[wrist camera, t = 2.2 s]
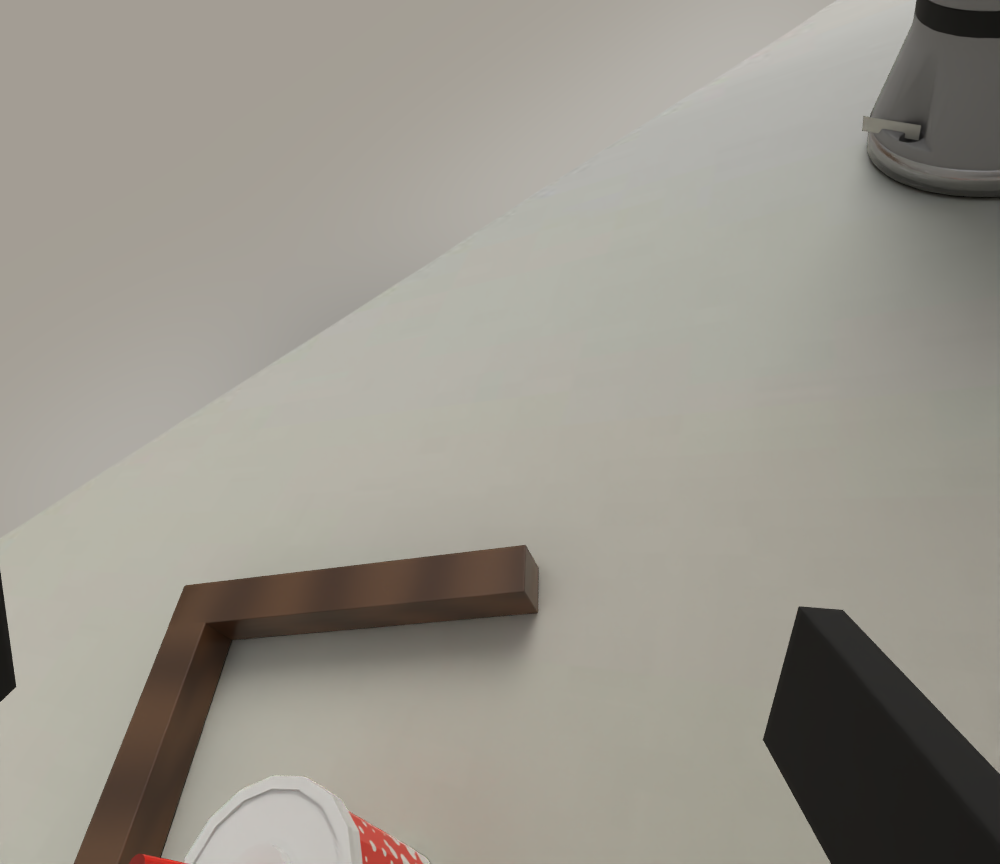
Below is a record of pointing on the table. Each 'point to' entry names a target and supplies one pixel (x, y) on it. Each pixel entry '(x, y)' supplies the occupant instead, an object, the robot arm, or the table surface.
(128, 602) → the table surface
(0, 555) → the table surface
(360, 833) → the beverage cup
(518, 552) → the bracket
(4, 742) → the table surface
